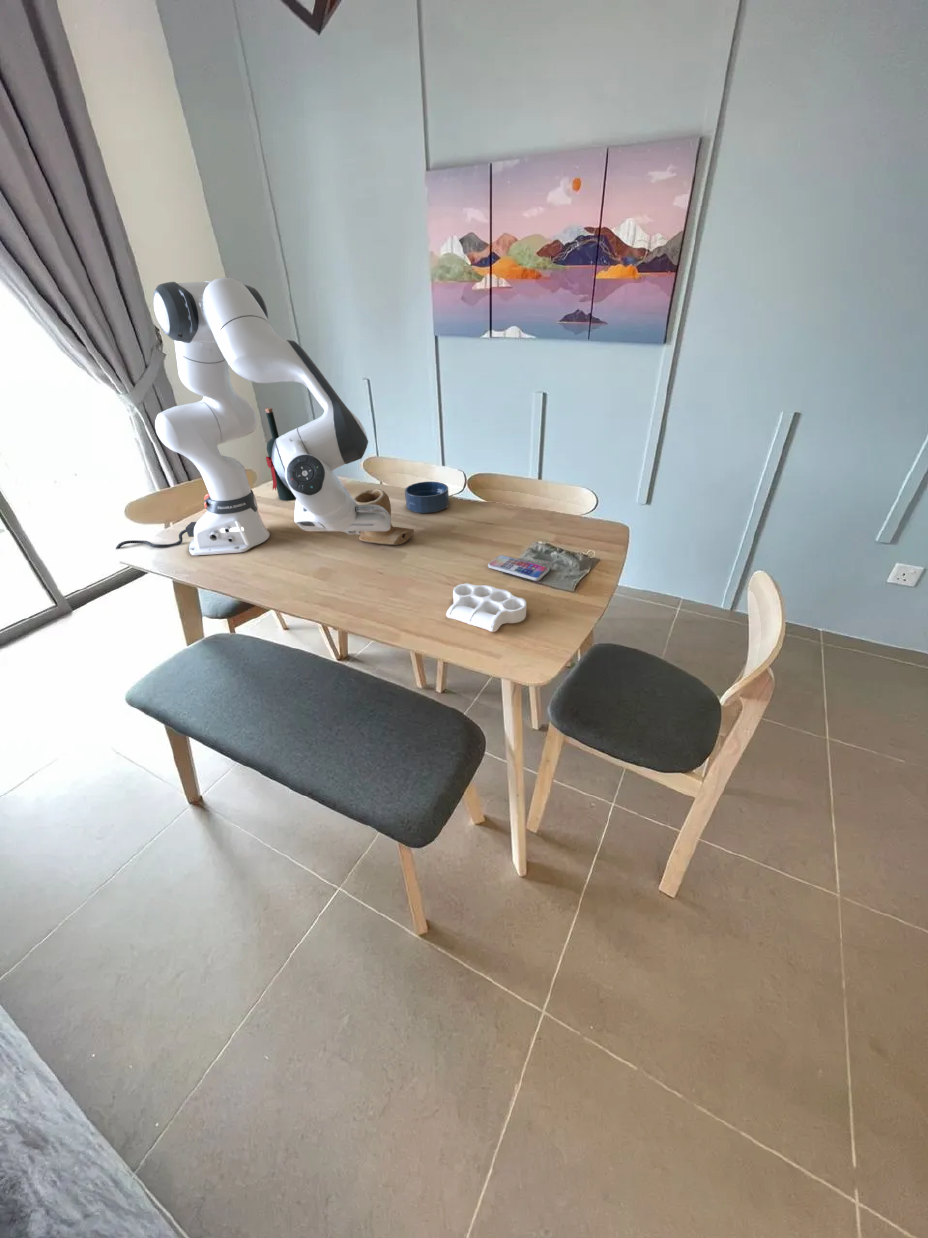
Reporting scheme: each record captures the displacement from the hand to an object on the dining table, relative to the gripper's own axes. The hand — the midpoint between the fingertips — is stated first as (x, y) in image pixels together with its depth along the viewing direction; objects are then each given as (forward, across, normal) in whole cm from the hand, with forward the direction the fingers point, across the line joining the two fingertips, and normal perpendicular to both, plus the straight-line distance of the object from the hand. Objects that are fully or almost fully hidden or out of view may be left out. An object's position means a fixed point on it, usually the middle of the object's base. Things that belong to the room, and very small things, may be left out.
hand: (354, 531), depth 117 cm
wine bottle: (+52, +43, -32) cm, 75 cm away
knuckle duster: (+1, -32, +19) cm, 37 cm away
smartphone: (+15, -39, +5) cm, 42 cm away
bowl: (+46, -9, -26) cm, 54 cm away
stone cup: (+27, 0, -7) cm, 28 cm away
